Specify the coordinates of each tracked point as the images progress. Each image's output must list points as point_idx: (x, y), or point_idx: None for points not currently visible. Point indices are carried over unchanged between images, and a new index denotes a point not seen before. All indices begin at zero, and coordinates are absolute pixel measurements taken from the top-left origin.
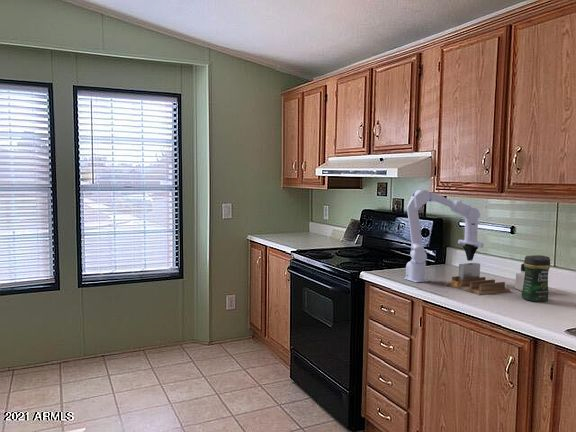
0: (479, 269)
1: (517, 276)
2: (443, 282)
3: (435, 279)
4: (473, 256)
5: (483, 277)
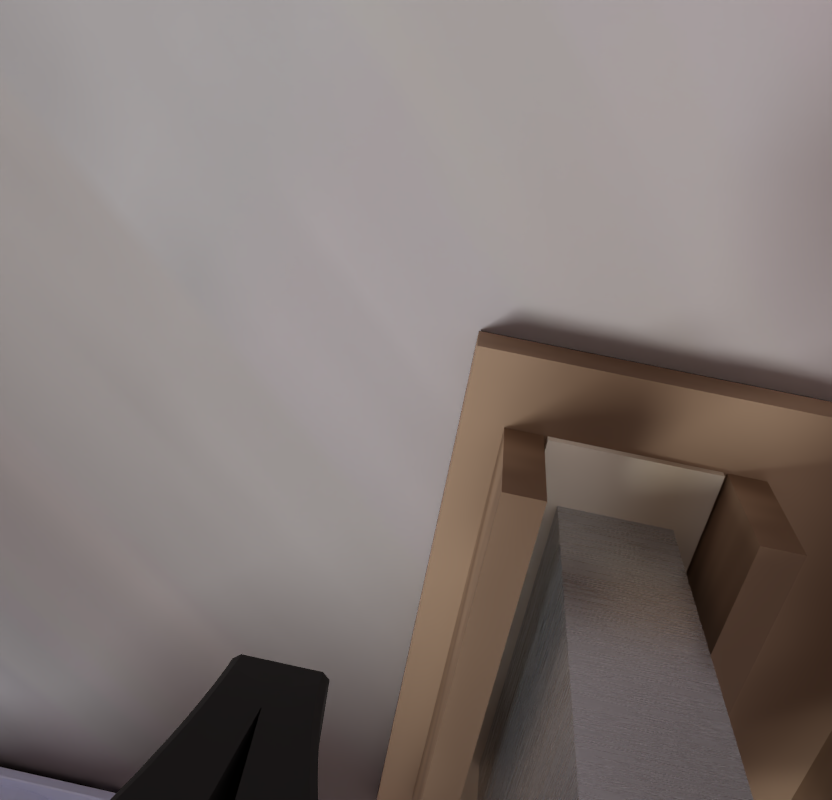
0: (728, 744)
1: None
2: None
3: (41, 646)
4: (317, 794)
5: (779, 595)
